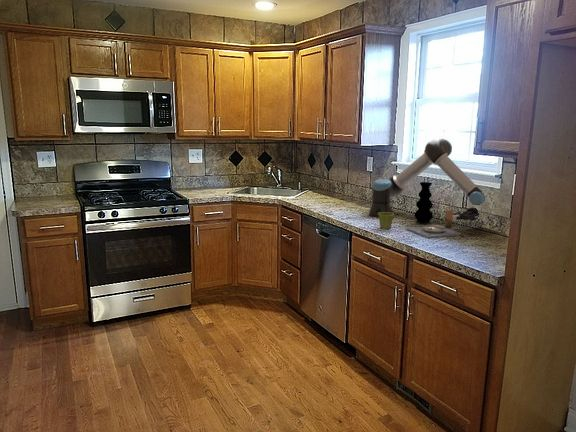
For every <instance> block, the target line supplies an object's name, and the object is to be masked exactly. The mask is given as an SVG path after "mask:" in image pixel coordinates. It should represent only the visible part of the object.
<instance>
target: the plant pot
mask: <svg viewBox="0 0 576 432" xmlns="http://www.w3.org/2000/svg"><path fill="white" fill-rule="evenodd" d="M378 214H379V217H378V219H379V228H380V229H382V230H390V229H392V224H393V219H394V216H395V213H393V212H392V213H389V212H380V213H378Z"/></svg>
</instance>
